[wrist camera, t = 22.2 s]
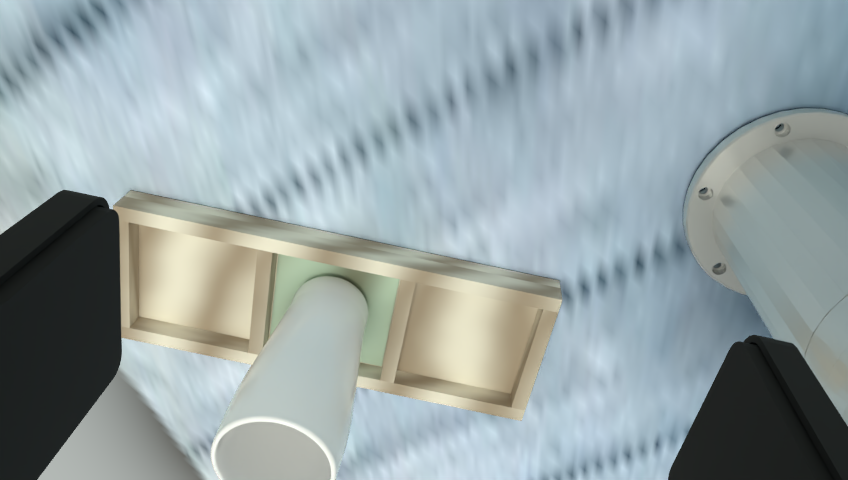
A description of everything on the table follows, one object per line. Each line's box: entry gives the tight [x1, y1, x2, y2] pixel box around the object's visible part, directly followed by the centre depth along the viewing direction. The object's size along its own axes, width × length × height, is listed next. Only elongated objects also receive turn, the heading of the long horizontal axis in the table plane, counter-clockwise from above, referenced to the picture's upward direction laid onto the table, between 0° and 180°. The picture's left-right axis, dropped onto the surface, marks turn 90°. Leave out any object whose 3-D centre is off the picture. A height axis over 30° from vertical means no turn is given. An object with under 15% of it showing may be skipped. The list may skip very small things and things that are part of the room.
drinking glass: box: [211, 276, 368, 480], centre depth 43 cm, size 7×7×15 cm
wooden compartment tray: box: [113, 190, 562, 421], centre depth 49 cm, size 30×11×2 cm, turn 79°
